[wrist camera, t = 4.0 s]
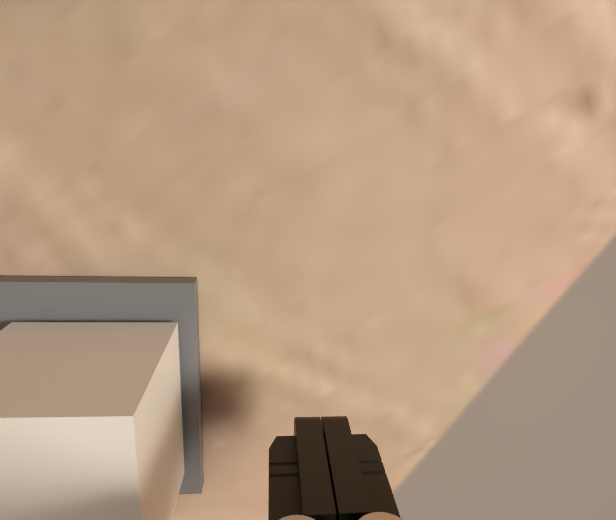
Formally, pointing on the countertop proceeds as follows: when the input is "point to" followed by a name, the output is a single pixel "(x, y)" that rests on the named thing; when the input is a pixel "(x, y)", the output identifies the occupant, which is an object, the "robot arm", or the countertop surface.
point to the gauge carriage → (90, 421)
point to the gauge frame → (123, 308)
